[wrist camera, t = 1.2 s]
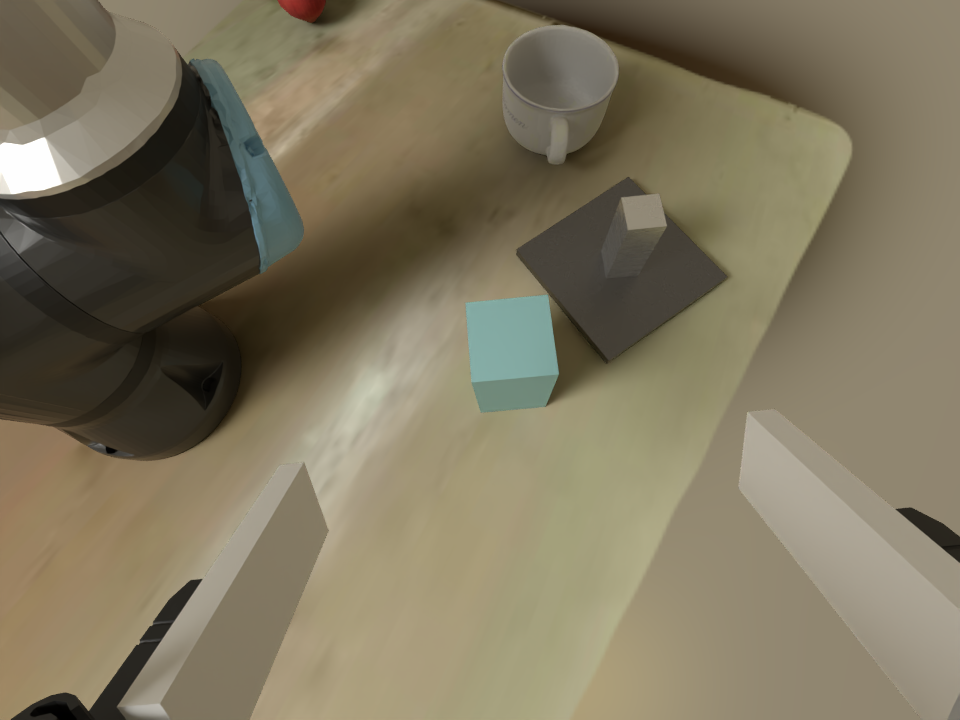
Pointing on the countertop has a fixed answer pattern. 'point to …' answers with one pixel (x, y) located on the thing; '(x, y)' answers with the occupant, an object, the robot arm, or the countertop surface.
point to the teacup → (557, 89)
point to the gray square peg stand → (619, 268)
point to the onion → (303, 8)
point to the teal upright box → (511, 352)
